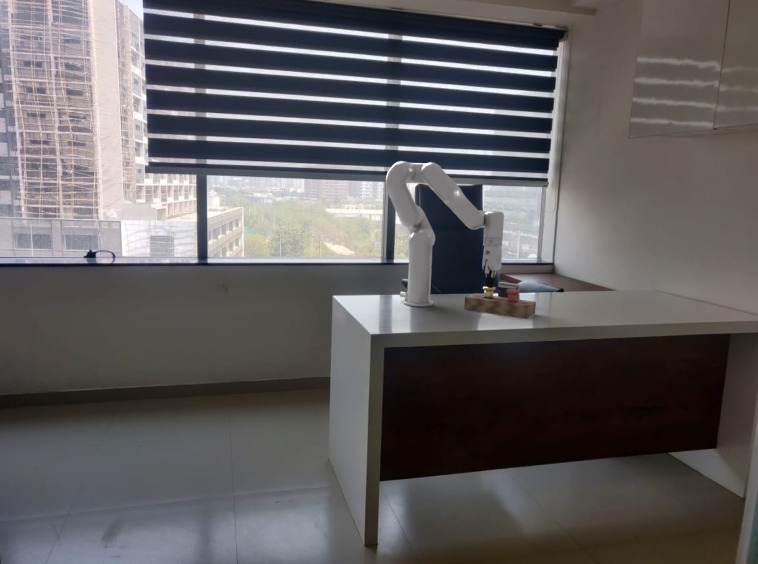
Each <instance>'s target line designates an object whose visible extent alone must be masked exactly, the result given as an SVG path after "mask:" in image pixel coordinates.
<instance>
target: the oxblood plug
mask: <svg viewBox="0 0 758 564" xmlns="http://www.w3.org/2000/svg"><path fill="white" fill-rule="evenodd" d="M519 291H520V289H519V290H515V289H507V291H506V293H508V301H507V302H514V303H516V302H517V294H519Z"/></svg>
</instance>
